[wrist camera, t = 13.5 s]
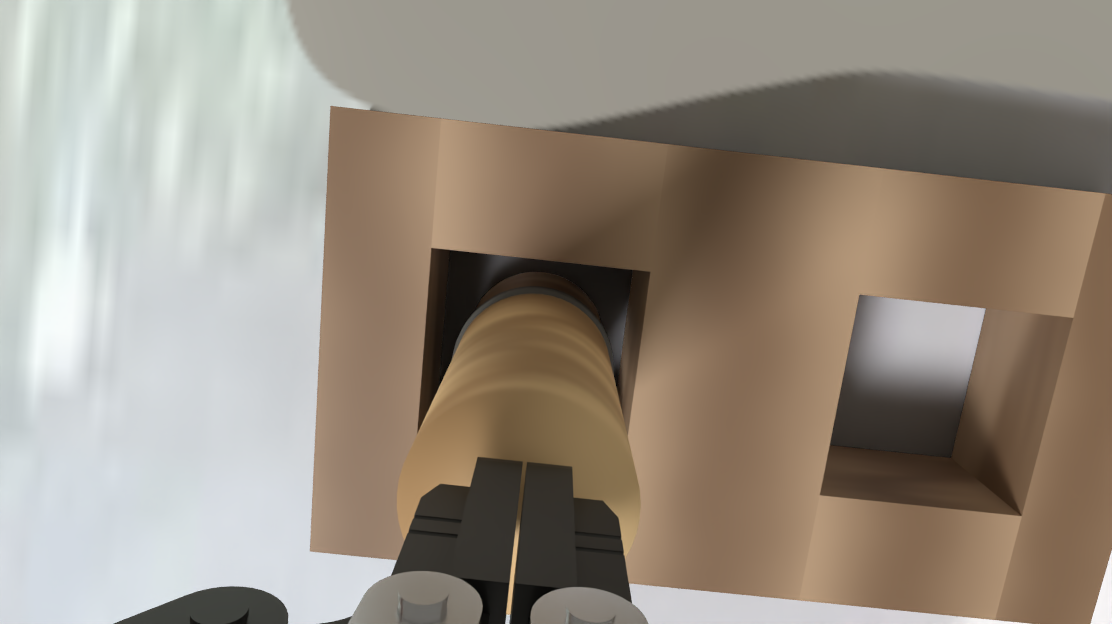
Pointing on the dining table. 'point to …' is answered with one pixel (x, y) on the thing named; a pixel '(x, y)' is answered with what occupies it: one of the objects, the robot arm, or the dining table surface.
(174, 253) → the dining table surface
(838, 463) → the walnut board
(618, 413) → the wooden pepper mill
